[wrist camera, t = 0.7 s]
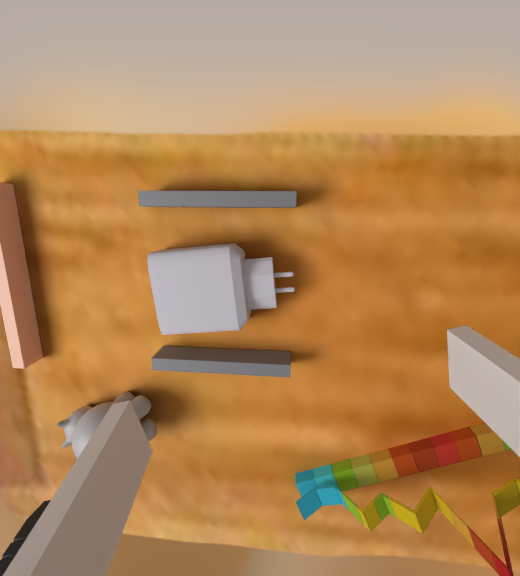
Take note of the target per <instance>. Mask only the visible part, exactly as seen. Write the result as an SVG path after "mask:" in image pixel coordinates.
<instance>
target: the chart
mask: <svg viewBox="0 0 520 576" xmlns="http://www.w3.org/2000/svg"><path fill="white" fill-rule="evenodd" d="M469 428H470V429H469ZM507 450H511V448H510V447H509V446H508V445H507V444H506V443H505V442H504V441H503V440H502V439H501V438H500V437H499V436H498V435H497V434H496V433H495V432H494V431H493V430H492V429H491V428H490V427H489V426H488V425H487V424H486V423H482V424H478V425H474V426H471V427H467V428H463V429H460V430H456V431H452V432H448V433H445V434H441V435H437V436H434V437H430V438H426V439H422V440H419V441H415V442H411V443H408V444H404V445H400V446H396V447H393V448H389V449H385V450H382V451H378V452H374V453H370V454H367V455H363V456H359V457H356V458H352V459H348V460H344V461H341V462H337V463H333V464H330V465H326V466H322V467H318V468H315V469H311V470H307V471H304V472H300V473H296V474H295V475H296V485H297V488H298V490H299V492H300V494H301V496H302V497H301V498H300V499H298V500H297V501H296V503H297V506H298V508H299V510H300V512H301V514H302V517H303V519H304V520H305V519H306V518H308V517H309V516H310V515H311V514H313V513H314V512H315V511H316V510H318V509H319V508H320V507H321V506H322V505H323V506H325V505H338V504H343V505H344V506H345V507H346V508H347V509H348V510H349V511H350V512H351V513H352V514H353V515H354V516H355V517H356V518H357V519H358V520H359V521H360V522H361V523H362V524H363V525H365V526H366V527H367V528H368V529H369V530H371V531H372V530H373V529H374V528H375V527H376V526H377V525H378V524H379V523H380V522H381V520H383V519H384V518H385V517H386V516H387V515H388V514H389V512H390V514H391V515H393V516H394V517H397V518H398V519H399V520H401V521H403V522H404V523H406V524H407V525H409V526H411V527H412V528H414V529H416V530H417V531H419V532H421V533H422V532H423V533H424V531H425V529H426V528H427V526H428V524H429V523H430V521H431V519H432V518H433V516H434V514H435V513H436V511H437V509H439V510H440V511H441V512H442V513H443V514H444V515H445V516H446V517H447V518H448V520H449V521H450V522H451V523H452V524H453V525H454V526H455V527H456V528H457V529H458V530H459V532H460V533H461V534H462V535H463V536H464V537H465V538H466V539H467V540H468V541H469V543H470V544H471V545H472V546H473V547H474V548H475V549H476V550H477V551H478V552H479V553H480V555H481V556H482V557H483V558H484V559H485V560H486V561H487V562H488V563H489V564H490V566H491V567H492V568H493V569H494V570H495V571H496V572H497V573H498V574H499V575H500V576H513V572H512V567H511V562H510V558H509V553H508V548H507V543H506V539H505V534H504V529H503V524H502V519H501V517H502V516H503V515H505V514H506V513H507V512H509V511H510V510H512V509H513V508H515V507H516V506H518V505H519V504H520V478H519V479H514V480H513V479H512V480H511V481H509V482H508V483H506V484H505V485H503V486H502V487H500V488H499V489H497V490H496V491H494V492H493V493H492V495H493V500H494V505H495V510H496V515H497V520H498V525H499V530H500V535H501V540H502V545H503V550H504V555H505V561H506V565H507V567H506V565H505V564H504V563H503V562H502V561H501V560H500V559H499V558H498V557H497V556H496V555H495V554H494V553H493V552H492V551H491V550H490V549H489V547H488V546H487V545H486V544H485V543H484V542H483V541H482V540H481V539H480V538H479V537H478V536H477V535H476V534H475V533H474V532H473V531H472V530H471V529H470V528H469V527H468V526H467V525H466V524H465V522H464V521H463V520H462V519H461V518H460V517H459V516H458V515H457V514H456V513H455V512H454V511H453V510H452V509H451V508H450V507H449V506H448V505H447V504H446V503H445V502H444V501H443V499H442V498H441V497H440V496H439V495H438V494H437V493H436V492H435V491H434V490H433V489H432V488H431V487H429V488H428V490H427V491H426V493H425V494H424V496H423V497H422V499H421V501H420V502H419V504H418V505H417V507H416V508H415V510H414V511H415V513H414V511H413V510H412V509H410V508H408V507H406V506H404V505H403V504H401V503H399V502H397V501H395V500H394V499H392V498H390V497H389V498H388V496H386V495H385V494H383V493H380V494H379V495H378V496H377V497H376V498H375V499H374V502H373V501H372V502H371V503H369V504H368V505H367V506H366V507H365V508H364V509H363V511H362V509H361V508H360V507H358V506H357V505H356V504H355V503H354V502H353V501H352V500H351V499H350V498H349V497H347V496H346V495H345V494H344V493H343V492H342V491H346V490H350V489H354V488H358V487H359V486H360V487H362V486H366V485H370V484H374V483H378V482H382V481H386V480H390V479H394V478H398V477H402V476H406V475H410V474H414V473H418V472H422V471H426V470H430V469H434V468H438V467H442V466H446V465H450V464H454V463H458V462H462V461H466V460H470V459H474V458H478V457H482V455H483V456H486V455H490V454H494V453H498V452H502V451H507ZM369 456H370V457H369ZM418 470H419V471H418ZM377 477H378V478H377ZM378 480H379V481H378ZM430 488H431V489H430ZM431 491H432V492H431ZM382 495H383V496H382ZM433 496H434V497H433ZM383 497H384V498H383ZM434 499H435V500H434ZM384 500H385V501H384ZM389 500H390V501H389ZM385 502H386V503H385ZM390 502H391V503H390ZM435 502H436V503H435ZM374 503H375V504H374ZM375 505H376V507H375ZM386 505H387V506H386ZM391 505H392V506H391ZM387 507H388V508H387ZM392 507H393V508H392ZM437 507H438V508H437ZM376 508H377V509H376ZM377 510H378V511H377ZM388 510H389V511H388ZM393 510H394V511H393ZM394 512H395V513H394ZM378 513H379V514H378ZM415 514H416V516H415ZM364 515H365V516H364ZM379 515H380V516H379ZM395 515H396V516H395ZM380 517H381V519H380ZM416 517H417V518H416ZM417 519H418V521H417ZM367 522H368V523H367ZM418 522H419V524H418ZM419 525H420V526H419ZM369 527H370V528H369ZM420 527H421V529H420ZM421 530H422V531H421Z"/></svg>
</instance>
